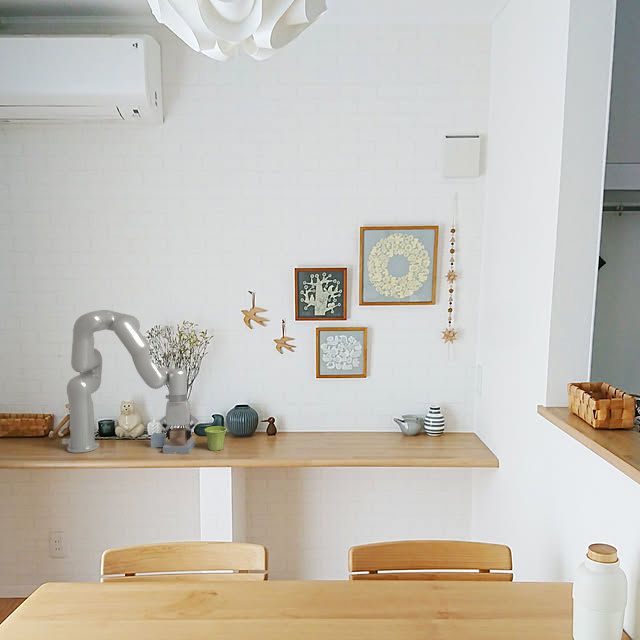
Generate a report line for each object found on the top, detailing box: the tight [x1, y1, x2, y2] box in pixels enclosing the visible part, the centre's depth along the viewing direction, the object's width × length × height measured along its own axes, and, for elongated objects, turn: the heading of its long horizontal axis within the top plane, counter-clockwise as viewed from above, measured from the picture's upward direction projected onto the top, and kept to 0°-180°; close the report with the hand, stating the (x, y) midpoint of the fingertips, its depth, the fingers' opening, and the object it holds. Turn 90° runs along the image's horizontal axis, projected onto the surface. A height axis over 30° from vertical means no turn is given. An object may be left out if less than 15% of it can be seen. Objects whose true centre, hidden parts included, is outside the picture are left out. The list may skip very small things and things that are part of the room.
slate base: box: [162, 439, 196, 454], centre depth 254 cm, size 11×11×2 cm
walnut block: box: [170, 427, 188, 446], centre depth 254 cm, size 6×6×6 cm
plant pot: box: [204, 425, 228, 452], centre depth 255 cm, size 9×9×9 cm
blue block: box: [150, 432, 167, 448], centre depth 260 cm, size 5×5×5 cm
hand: (179, 438), depth 254 cm, fingers open, 7 cm apart
